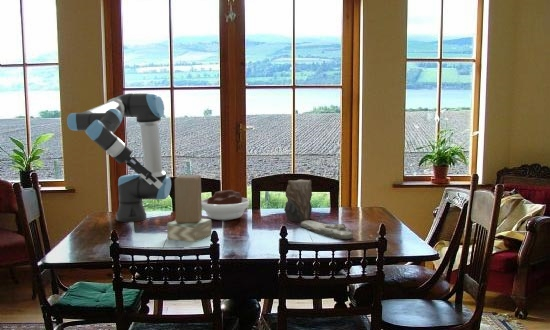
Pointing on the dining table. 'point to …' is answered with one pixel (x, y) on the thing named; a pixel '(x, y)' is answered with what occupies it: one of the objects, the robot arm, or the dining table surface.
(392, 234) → the dining table surface
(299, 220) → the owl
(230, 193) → the white bowl of dessert
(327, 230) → the elongated rock
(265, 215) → the dining table surface
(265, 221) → the dining table surface
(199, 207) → the wooden block
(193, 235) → the birch step
